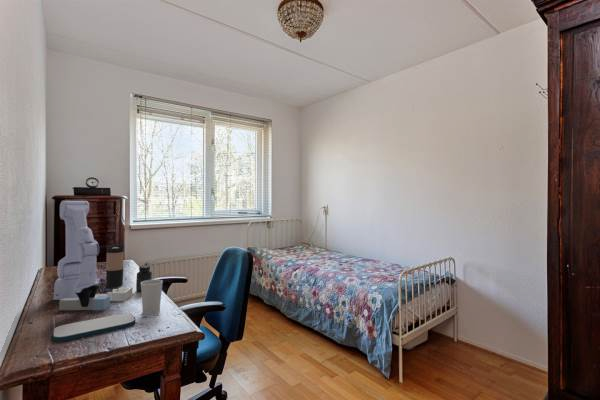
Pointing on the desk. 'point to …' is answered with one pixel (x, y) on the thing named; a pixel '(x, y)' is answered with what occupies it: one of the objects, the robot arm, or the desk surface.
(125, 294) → the slider rail
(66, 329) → the white teal rounded slab
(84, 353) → the desk surface
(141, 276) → the supplement bottle
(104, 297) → the blue-capped grey bar
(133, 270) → the desk surface
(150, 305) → the cup
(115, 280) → the travel mug
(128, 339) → the desk surface
